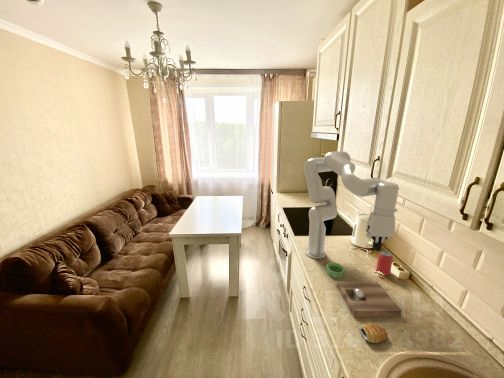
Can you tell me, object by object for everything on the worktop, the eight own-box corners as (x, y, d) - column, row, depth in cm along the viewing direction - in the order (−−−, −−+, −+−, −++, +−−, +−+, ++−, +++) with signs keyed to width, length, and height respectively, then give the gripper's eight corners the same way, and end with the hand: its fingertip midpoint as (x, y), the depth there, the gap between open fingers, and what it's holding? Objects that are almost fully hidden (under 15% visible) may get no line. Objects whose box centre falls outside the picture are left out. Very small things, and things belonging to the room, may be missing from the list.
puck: (359, 298, 101) (352, 298, 101) (358, 287, 102) (351, 287, 102) (364, 302, 96) (358, 302, 96) (363, 290, 97) (357, 290, 97)
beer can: (387, 270, 120) (391, 251, 117) (391, 277, 114) (395, 257, 111) (374, 268, 122) (377, 249, 119) (377, 275, 116) (380, 255, 113)
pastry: (379, 327, 85) (380, 319, 84) (392, 342, 78) (393, 334, 77) (357, 329, 84) (358, 321, 83) (368, 345, 77) (369, 336, 76)
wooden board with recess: (336, 286, 107) (337, 281, 106) (376, 286, 107) (377, 281, 107) (353, 316, 90) (354, 310, 89) (400, 316, 90) (401, 310, 89)
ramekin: (326, 267, 122) (326, 261, 121) (343, 271, 119) (344, 264, 118) (325, 277, 114) (326, 270, 113) (344, 281, 111) (344, 274, 110)
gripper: (395, 208, 94) (388, 245, 99) (361, 207, 95) (355, 244, 100) (407, 214, 87) (398, 254, 92) (370, 214, 88) (363, 253, 93)
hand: (376, 249), depth 96 cm, fingers closed
